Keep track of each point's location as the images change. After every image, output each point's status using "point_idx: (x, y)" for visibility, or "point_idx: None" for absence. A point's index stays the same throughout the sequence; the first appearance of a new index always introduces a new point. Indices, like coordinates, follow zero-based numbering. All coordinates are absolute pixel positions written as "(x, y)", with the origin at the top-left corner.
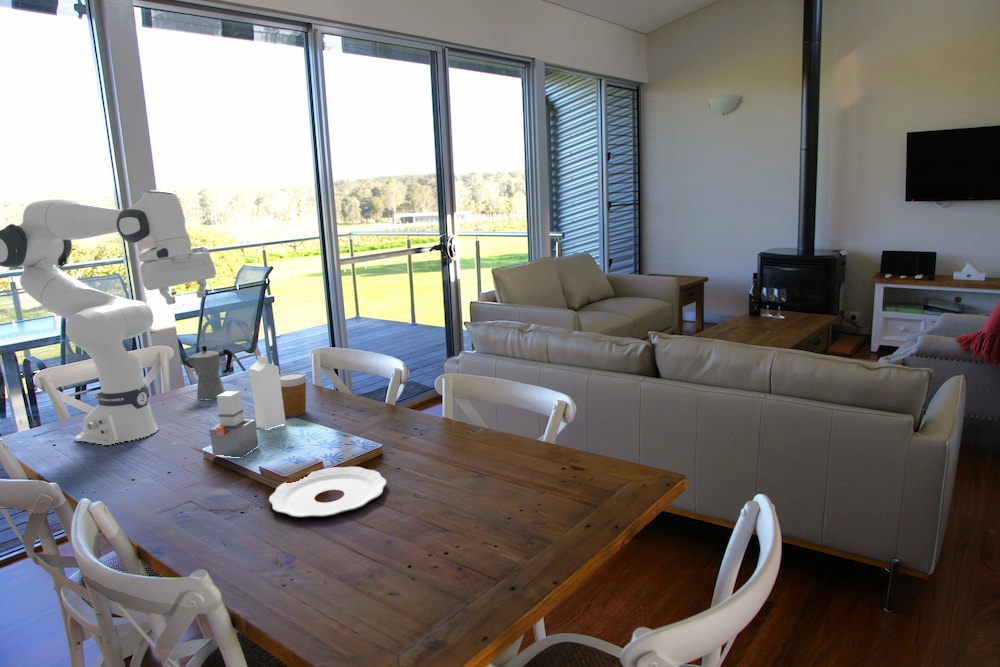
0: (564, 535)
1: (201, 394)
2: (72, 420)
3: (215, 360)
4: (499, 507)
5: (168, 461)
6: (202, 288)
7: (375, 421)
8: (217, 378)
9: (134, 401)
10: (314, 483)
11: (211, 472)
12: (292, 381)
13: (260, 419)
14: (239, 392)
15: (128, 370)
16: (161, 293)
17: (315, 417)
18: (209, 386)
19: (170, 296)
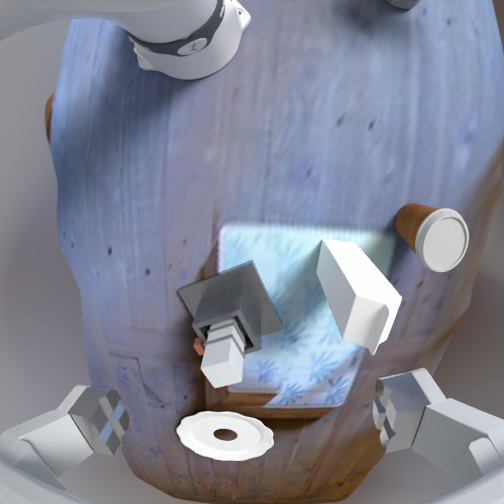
0: (262, 501)
1: None
2: None
3: None
4: (273, 486)
5: (163, 230)
6: (428, 453)
7: (406, 351)
8: None
9: (171, 53)
10: (234, 417)
11: (182, 320)
12: (427, 267)
13: (323, 264)
14: (240, 380)
15: (145, 25)
16: (17, 436)
17: (404, 270)
18: None
19: (83, 454)
